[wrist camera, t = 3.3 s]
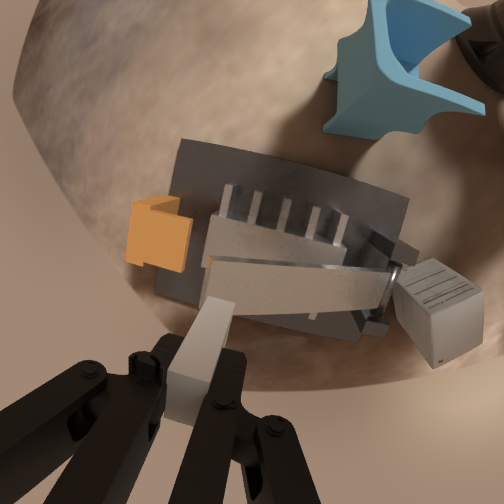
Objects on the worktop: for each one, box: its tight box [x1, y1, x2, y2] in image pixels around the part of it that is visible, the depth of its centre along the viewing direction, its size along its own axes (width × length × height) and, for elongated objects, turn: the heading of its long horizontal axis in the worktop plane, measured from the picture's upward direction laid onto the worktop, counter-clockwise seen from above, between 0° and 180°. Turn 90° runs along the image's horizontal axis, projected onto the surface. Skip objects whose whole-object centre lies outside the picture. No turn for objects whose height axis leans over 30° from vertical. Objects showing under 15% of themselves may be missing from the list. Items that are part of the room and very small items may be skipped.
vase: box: [322, 0, 485, 140], centre depth 20 cm, size 8×8×20 cm
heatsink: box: [155, 138, 420, 343], centre depth 31 cm, size 20×28×8 cm
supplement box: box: [392, 258, 484, 369], centre depth 29 cm, size 7×7×13 cm
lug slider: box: [125, 195, 193, 273], centre depth 30 cm, size 6×6×8 cm
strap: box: [199, 255, 403, 317], centre depth 24 cm, size 6×20×2 cm
